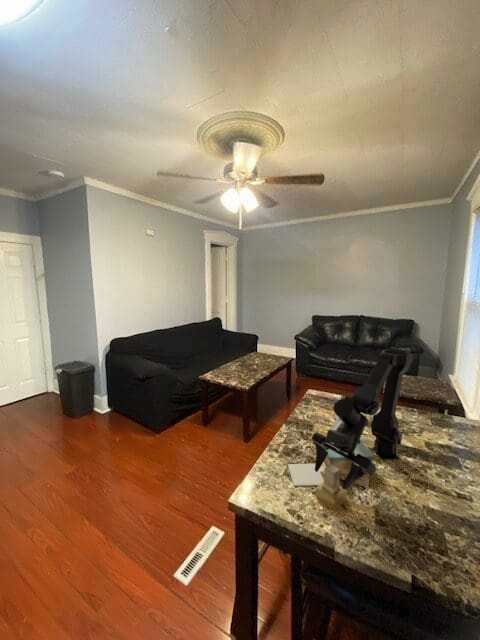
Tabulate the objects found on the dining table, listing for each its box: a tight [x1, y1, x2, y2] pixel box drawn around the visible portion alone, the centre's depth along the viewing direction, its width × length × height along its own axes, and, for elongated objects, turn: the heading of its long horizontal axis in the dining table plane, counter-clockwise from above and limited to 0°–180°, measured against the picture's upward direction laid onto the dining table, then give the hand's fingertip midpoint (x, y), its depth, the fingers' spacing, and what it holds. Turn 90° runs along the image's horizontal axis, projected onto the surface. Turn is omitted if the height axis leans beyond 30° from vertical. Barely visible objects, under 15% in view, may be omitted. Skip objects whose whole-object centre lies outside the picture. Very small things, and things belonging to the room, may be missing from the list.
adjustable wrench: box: [323, 414, 344, 437], centre depth 121 cm, size 25×6×2 cm, turn 137°
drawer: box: [323, 438, 375, 475], centre depth 97 cm, size 15×11×7 cm
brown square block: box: [323, 464, 340, 495], centre depth 81 cm, size 3×3×10 cm
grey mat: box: [287, 462, 324, 487], centre depth 92 cm, size 10×10×1 cm
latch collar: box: [315, 482, 348, 511], centre depth 82 cm, size 6×6×3 cm
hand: (328, 479), depth 80 cm, fingers open, 9 cm apart
